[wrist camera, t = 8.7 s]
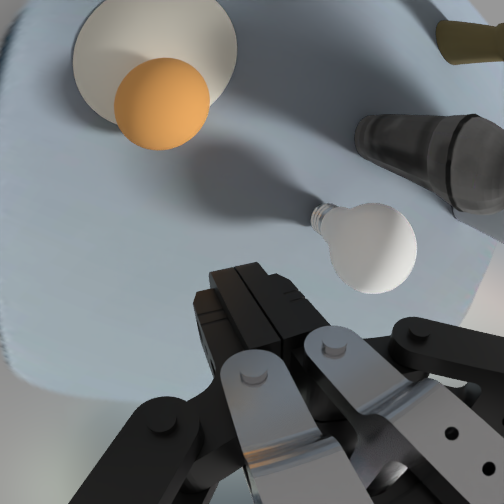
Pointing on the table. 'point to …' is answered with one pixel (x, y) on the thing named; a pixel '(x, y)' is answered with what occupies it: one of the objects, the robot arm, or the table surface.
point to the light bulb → (367, 244)
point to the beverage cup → (440, 156)
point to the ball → (161, 103)
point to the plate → (151, 45)
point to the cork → (470, 42)
